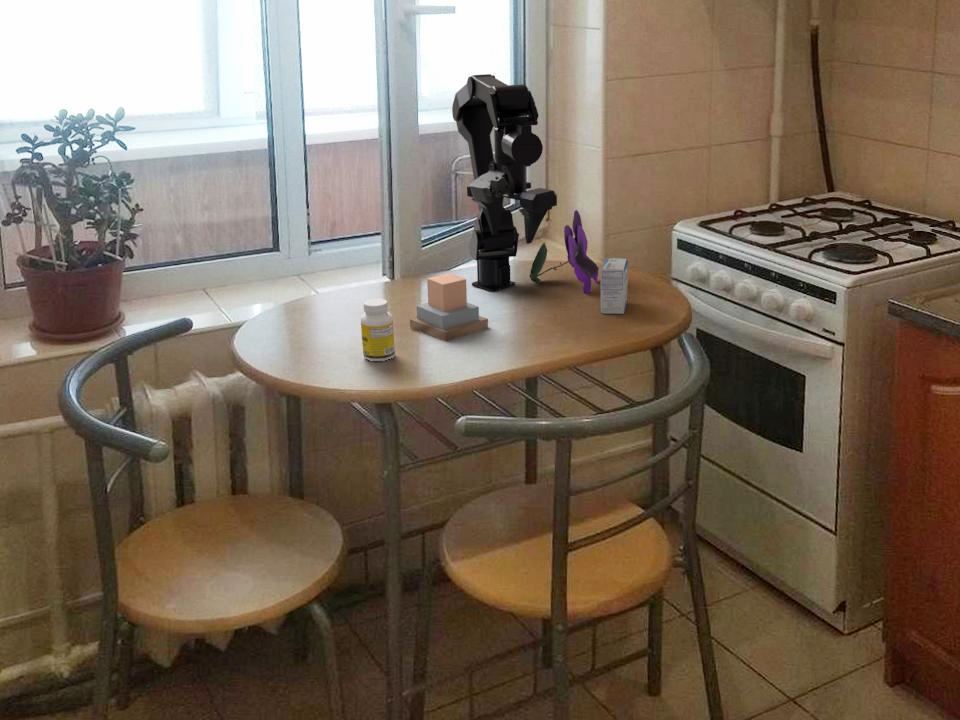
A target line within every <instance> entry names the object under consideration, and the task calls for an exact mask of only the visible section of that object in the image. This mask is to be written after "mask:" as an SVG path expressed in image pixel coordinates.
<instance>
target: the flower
mask: <svg viewBox="0 0 960 720" xmlns="http://www.w3.org/2000/svg"><path fill="white" fill-rule="evenodd" d="M582 223H583V221H582V218H581V215H580V213H579V211H578V210H577V209H576V210H574V212H573V220H572V228H571V226H570V225H568V224H567V225H565V226H564V228H563V229H564V230H563V233H564V234H563V235H564V236H563V237H564V239H563V240H564V244H565V245H564V246H565V249H566V252H567V261H565V262H564V263H562V262H561V261H560V262H559V264H560V265H557V266H553V267H550V268H548V269H546V270H545V271H543V272H541V271H542V270H543V267H544V265H545V262H546V261H547V254H548V248H547V245H546V243H545V242H543V243H542V245H541V246H540V247H539V249H538V252H537V253H536V255H535V257H534V259H533V261H532V265H531V269H530V274H529V278H530V280H531V281H532V282H533V283H536V284H540V282H541V279H540V278H538V277H540V276H542V275H543V274H545V273H547V272H549V271H551V270H555V271H557V268H560V267H562V266H564V265H565V264H567V263H569V264H570V266H571V267H572V268H573V269H574V270H573V271H574V275H575V276H576V278H577V281H579V282H581V283H582V284H583V287H582V289H583V294H588V293H591V289H592V280H593V281H594V283H596V284H597V283H598V278H599V269H600V268H599V266H598V265H597V264H596V263H595V261H594V260H592V259H591V258H590V257H589V256H588V255H587V254H588V253H587V252H588V239H587V235H586V232H585V231H584V228H583V224H582ZM540 272H541V273H540Z"/></svg>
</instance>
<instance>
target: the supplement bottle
mask: <svg viewBox="0 0 960 720" xmlns="http://www.w3.org/2000/svg"><path fill="white" fill-rule="evenodd" d="M388 305H389V304H388V301H387V300H386V299H384V298H370V299H366V300H365V301H364V302H363V311H364V313H363V314H362V316H361V317H360V329H361V331H360V333H361V341H362V353H363V358H364V359H365V360H366V359H368V360H372V361H382V360H387V361H389V360H388V359H390V360H392V359H394V358H395V356H396V347H395V345H396V344H395V333H394V332H395V330H394V318H393V315H392V313H390V312H389V311H388V310H389V306H388ZM391 358H392V359H391ZM368 360H367V361H368ZM382 362H383V361H382Z"/></svg>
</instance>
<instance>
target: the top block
mask: <svg viewBox="0 0 960 720" xmlns="http://www.w3.org/2000/svg"><path fill="white" fill-rule="evenodd" d="M479 316H480V308H479V306H478V305H476V304H472V303H470V302H468V301H467V306H465V307H461V308H457V309H453V310H449V311H445V312H444V311H441V310H439V309H437V308H434V307H432V306H430V305H428V302H425V303H422V304H417V305H416V317H417V319H419V320H421V321H424V322H426V323H428V324H431V325H433V326H435V327H438V328H440V329H442V330H443V329H447V328H451V327H454V326H458V325H462V324H465V323H469V322H473V321H476V320H479Z"/></svg>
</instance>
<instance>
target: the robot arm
mask: <svg viewBox="0 0 960 720" xmlns="http://www.w3.org/2000/svg"><path fill="white" fill-rule="evenodd" d="M451 112H452V118H453V121H455V122H456V126H457V127H456V128H457V132H458V133H459V134H460V135H461V136H462V138H463V139H464V140H465V141H466V142H467V144H468V145H467V146H468V150H469V157H470V163H471V170H472V175H473V180H470V181H469V182H468V183H467V186H466V196H467V197H470V198H471V200H472V202H474V203H476V204H477V206H478V214H477V216H476V219H475V221H474V224H473V231H472V233H471V237H470V240H469V243H468V249H469V255H470V257H471V258H472V259H474V261H476V269H477V274H476V275H477V276H476V277H477V279H476V280H477V281H473V282H471V286H473V287H477V288H480V289H484V290H487V291H489V292H495V291H496V292H497V291H499V290H502V289H505V288H509V287H512V286H516V282H515V281H513V280H511V265H510V258H511V257H514V258H515V257H517V254H518V244H519V238H520V234H519V232H518V229H517V228H516V226H515V225H514V224H515V223H514V218H513V213H512V212H511V210H510V209H507V208H505V207H504V205H503V204H504V198H505V199H506V198H507V199H512V200H515V201H518V202H519V205H520V206H521V208H520V209H518V211H519V212H520V214H521V215H522V216H523V221H524V237H525V243H526V245H528V244H532V243H533V240H534V239H535V236H536V234H537V232H538V230H539V228H540V225H541V224H542V222H543V220H544V219H545V218H544V217H545V216H546V214H547V213H548V211H550V210H552V209H553V207H556V206H558V195H557V193H556V192H555V190H552V189H547V188H542V187H538V188H533V189H531V188H532V182H529V181H527V168H528V167H531V166H532V165H533V164H535V163H536V162H538V161H539V160H540V158H541V156H542V154H543V148H544V146H543V143H542V140H541V139H540V137H539V136H538V135H537V134H536V133H533V132H532V126H538V124H539V122H538V120H539V112H538V109H537V106H536V102H535V99H534V97H533V95H532V92H531V90H529V88H528V86H527V85H526V84H523V83H522V84H507V83H505V82H503V81H501V80H499V79H497V78H496V76H495V75H494V74H493V75H492V74H491V73H490V74H489V73H486V74H472V75H470V76H468V77H467V82H466V83H465V85H463V86H462V87H461V88H460V89H459V90H458V91H457V92H456V93H455V95H454V98H453V103H452V109H451ZM493 129H494V130H493ZM492 131H494V132H493V135H494V136H493V139H494V149H493V146H492V139H491V133H492ZM493 150H494V151H493Z"/></svg>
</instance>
